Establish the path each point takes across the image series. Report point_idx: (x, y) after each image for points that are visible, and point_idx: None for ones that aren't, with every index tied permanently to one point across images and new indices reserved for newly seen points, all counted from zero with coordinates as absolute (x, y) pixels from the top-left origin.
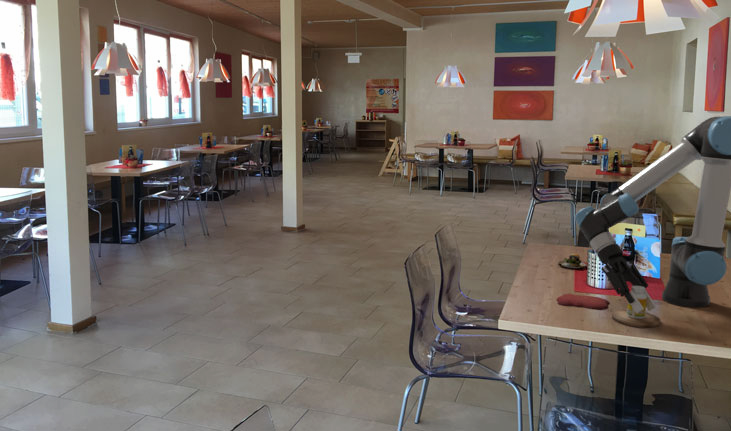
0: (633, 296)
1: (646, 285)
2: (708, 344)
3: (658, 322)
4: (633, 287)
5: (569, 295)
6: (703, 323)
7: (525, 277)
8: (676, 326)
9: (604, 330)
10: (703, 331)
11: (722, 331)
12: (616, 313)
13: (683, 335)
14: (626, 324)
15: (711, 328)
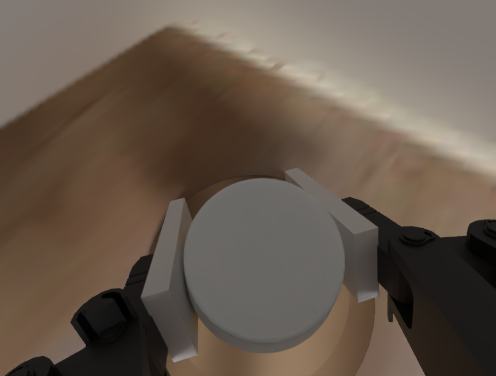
0: (345, 207)
1: (78, 321)
2: (192, 40)
3: (205, 189)
4: (335, 256)
5: None
6: (8, 182)
7: None
8: (143, 174)
9: (467, 190)
10: (101, 116)
11: (41, 106)
12: (332, 362)
13: (200, 100)
14: None
15: (43, 133)
